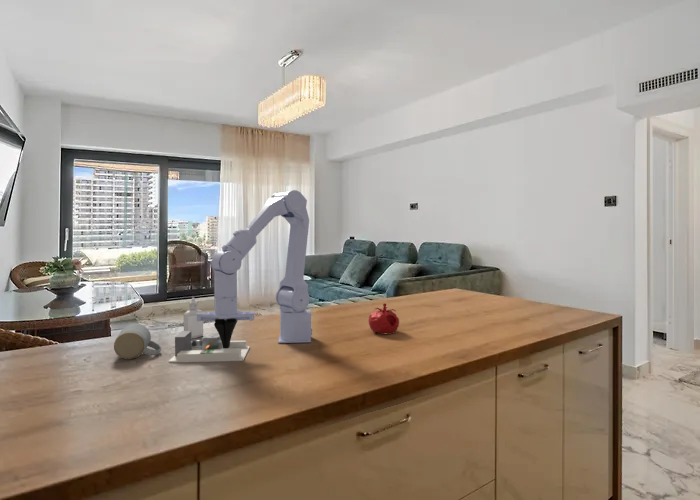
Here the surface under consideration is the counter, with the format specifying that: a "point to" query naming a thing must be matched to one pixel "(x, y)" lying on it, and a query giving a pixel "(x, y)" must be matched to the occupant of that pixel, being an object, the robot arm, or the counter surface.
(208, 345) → the plunger
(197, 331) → the eye dropper bottle
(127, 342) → the ceramic mug
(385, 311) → the pomegranate
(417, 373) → the counter surface
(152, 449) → the counter surface
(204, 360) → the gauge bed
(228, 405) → the counter surface
